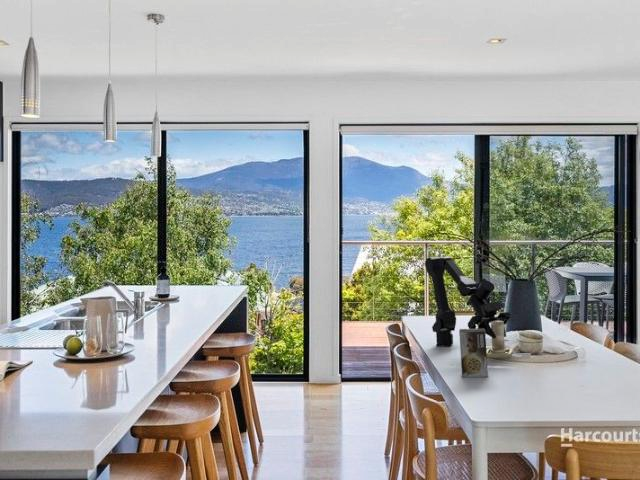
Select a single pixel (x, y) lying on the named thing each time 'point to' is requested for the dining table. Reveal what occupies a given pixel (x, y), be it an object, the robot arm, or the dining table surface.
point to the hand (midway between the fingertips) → (500, 337)
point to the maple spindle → (498, 337)
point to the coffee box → (473, 352)
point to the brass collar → (500, 354)
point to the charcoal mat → (524, 356)
